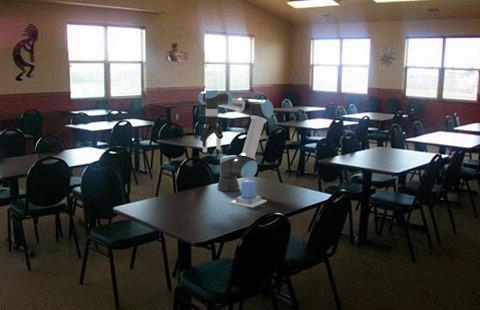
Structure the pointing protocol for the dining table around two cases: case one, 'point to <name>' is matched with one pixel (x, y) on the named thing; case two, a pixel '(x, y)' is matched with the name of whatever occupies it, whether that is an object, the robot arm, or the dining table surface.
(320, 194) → the dining table surface
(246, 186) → the blue drink carton
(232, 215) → the dining table surface
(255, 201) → the white square socket base
